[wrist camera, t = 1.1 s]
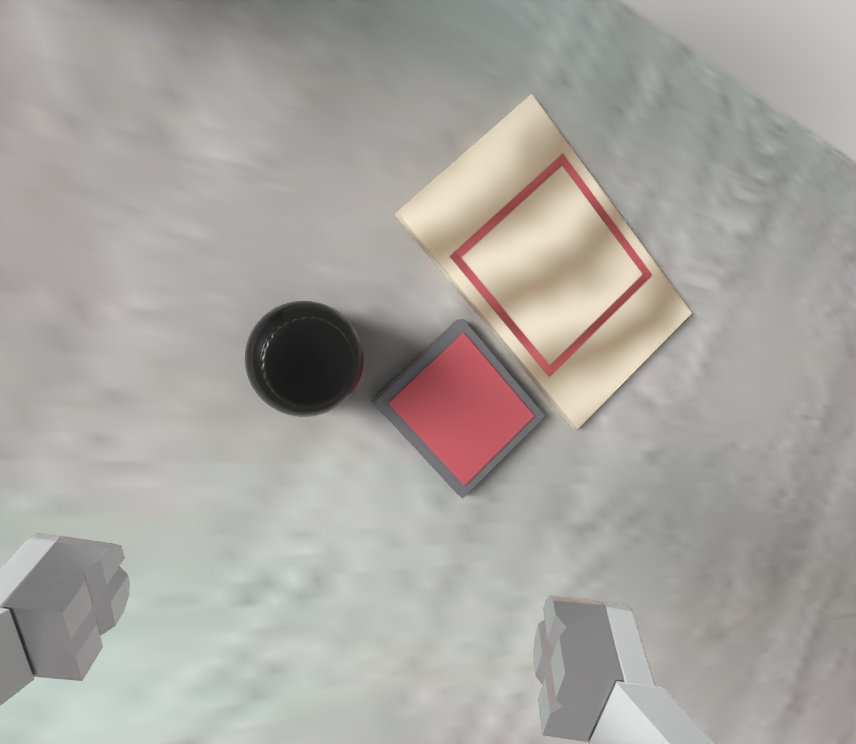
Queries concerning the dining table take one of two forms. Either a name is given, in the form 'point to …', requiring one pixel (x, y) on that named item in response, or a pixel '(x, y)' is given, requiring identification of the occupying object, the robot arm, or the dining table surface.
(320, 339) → the supplement bottle
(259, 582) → the dining table surface
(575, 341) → the marked board
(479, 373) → the ink pad
